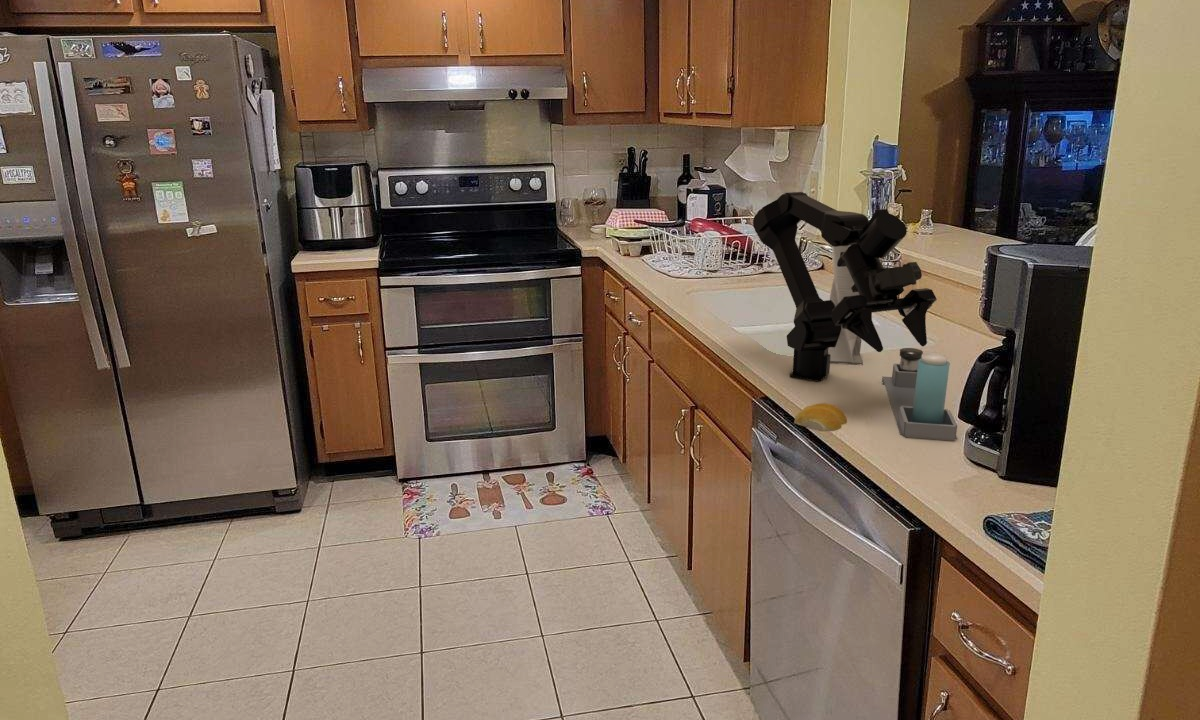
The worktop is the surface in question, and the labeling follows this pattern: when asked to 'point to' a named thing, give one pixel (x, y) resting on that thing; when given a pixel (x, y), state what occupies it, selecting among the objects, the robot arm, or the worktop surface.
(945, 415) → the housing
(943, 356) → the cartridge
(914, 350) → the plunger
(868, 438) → the worktop surface
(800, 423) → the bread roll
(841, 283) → the skyscraper
